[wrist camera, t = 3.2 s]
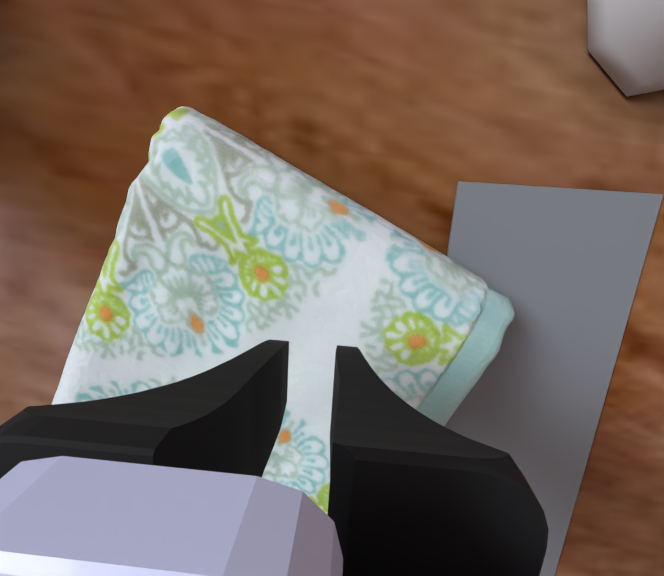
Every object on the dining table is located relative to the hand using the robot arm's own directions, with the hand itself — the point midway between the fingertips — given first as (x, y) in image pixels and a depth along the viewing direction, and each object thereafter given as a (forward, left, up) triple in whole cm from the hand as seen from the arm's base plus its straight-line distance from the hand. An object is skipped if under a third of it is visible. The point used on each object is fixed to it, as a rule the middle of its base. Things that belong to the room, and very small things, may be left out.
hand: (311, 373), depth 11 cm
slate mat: (-7, -11, -10) cm, 17 cm away
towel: (-5, +4, -10) cm, 12 cm away
